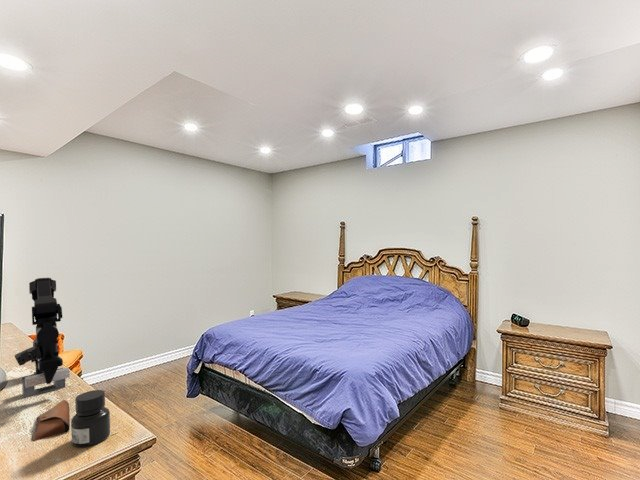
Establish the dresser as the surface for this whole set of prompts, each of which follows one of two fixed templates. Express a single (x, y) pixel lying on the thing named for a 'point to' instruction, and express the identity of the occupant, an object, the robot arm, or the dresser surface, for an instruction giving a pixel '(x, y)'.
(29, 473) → the dresser surface
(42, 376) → the rail
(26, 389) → the standards
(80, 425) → the ink bottle
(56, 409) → the sunglasses case
